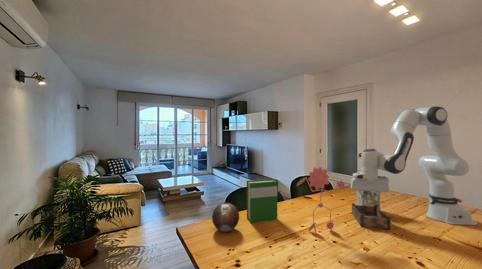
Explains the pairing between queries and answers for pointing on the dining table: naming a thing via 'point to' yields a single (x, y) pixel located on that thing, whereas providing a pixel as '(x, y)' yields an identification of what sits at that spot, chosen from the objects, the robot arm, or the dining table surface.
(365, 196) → the birch crate
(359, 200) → the cracker box
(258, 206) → the hardback book
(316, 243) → the dining table surface
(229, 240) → the dining table surface
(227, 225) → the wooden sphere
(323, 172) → the figurine
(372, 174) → the robot arm
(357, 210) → the walnut crate
